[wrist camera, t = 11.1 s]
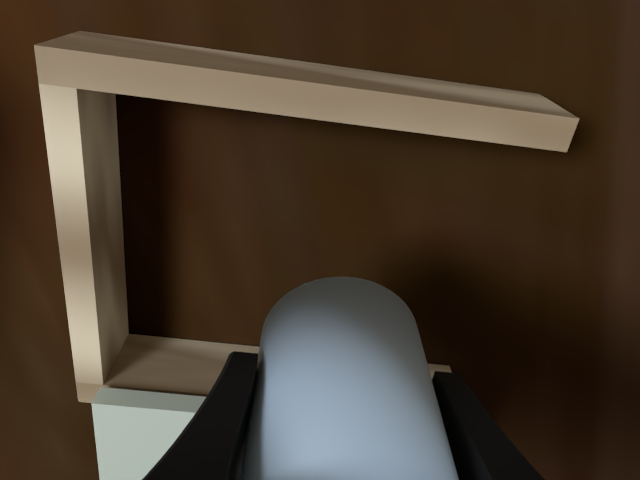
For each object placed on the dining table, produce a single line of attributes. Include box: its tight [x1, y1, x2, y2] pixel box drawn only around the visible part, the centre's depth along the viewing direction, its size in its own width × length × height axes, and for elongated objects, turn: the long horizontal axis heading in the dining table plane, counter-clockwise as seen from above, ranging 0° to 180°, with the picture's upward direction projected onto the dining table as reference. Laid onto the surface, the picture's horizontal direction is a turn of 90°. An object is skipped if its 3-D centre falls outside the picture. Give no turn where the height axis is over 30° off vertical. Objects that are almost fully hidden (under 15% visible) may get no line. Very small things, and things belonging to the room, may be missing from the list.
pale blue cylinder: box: [240, 277, 459, 480], centre depth 12 cm, size 4×4×6 cm
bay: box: [34, 31, 579, 403], centre depth 20 cm, size 20×15×3 cm
